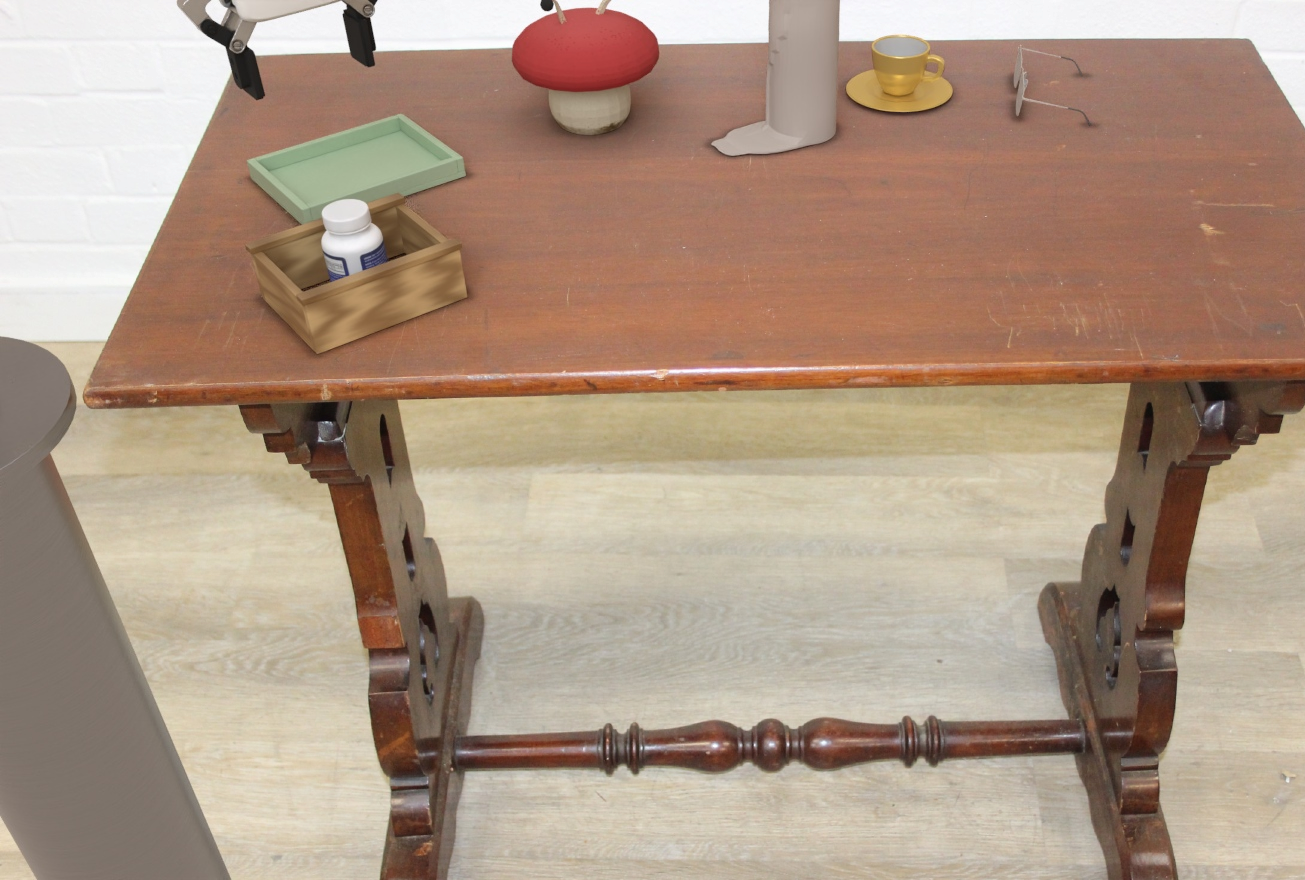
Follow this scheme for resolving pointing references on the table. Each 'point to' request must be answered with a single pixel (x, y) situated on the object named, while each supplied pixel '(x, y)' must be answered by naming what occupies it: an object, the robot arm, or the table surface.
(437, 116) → the table surface
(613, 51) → the mushroom
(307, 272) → the wooden box
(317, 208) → the tray
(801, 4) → the candle
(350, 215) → the pill bottle
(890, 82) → the cup
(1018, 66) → the eyeglasses
